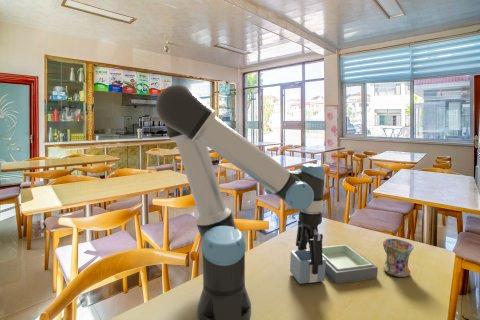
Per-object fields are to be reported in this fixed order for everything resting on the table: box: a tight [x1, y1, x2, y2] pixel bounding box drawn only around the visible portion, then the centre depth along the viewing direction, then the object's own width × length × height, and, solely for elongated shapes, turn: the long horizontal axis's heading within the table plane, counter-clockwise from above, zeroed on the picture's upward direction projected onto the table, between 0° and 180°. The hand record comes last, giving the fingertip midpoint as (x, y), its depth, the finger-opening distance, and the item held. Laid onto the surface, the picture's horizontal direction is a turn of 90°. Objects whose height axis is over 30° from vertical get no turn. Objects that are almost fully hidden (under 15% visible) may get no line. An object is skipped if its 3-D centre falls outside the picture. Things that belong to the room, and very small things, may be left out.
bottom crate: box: [324, 243, 379, 285], centre depth 107 cm, size 16×19×4 cm
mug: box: [382, 238, 414, 278], centre depth 104 cm, size 12×9×11 cm
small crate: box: [289, 248, 326, 284], centre depth 99 cm, size 9×8×8 cm
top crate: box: [322, 244, 372, 271], centre depth 106 cm, size 13×16×4 cm
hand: (307, 274), depth 100 cm, fingers closed on small crate, 8 cm apart
